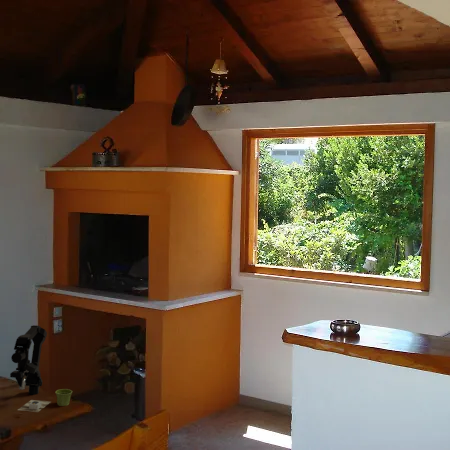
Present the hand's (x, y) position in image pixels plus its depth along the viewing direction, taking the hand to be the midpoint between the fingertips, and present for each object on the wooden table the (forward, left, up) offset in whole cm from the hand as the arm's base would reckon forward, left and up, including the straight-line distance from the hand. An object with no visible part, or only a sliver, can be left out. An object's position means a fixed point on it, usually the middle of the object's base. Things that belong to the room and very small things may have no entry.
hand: (22, 386), depth 349 cm
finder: (+5, +11, -10) cm, 16 cm away
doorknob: (0, 0, -2) cm, 2 cm away
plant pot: (-6, +23, -12) cm, 26 cm away
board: (+1, +9, -12) cm, 14 cm away
